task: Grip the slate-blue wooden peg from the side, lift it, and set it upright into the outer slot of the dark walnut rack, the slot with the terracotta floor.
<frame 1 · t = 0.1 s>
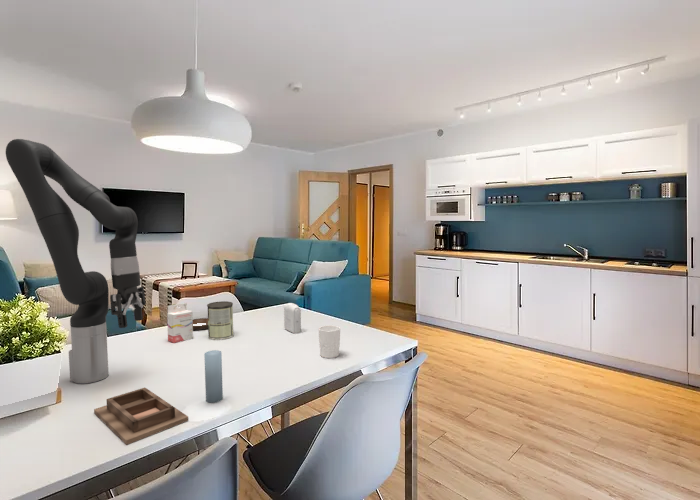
hand: (131, 323, 122), 17 cm above the table, tool pointing down, fingers open, 8 cm apart
white cup: (329, 355, 144), on the table
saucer: (200, 327, 183), on the table
slate peg: (214, 399, 108), on the table
coffee can: (221, 336, 168), on the table
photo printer: (292, 331, 176), on the table
ink cartridge box: (180, 340, 163), on the table
slot rack: (140, 416, 99), on the table
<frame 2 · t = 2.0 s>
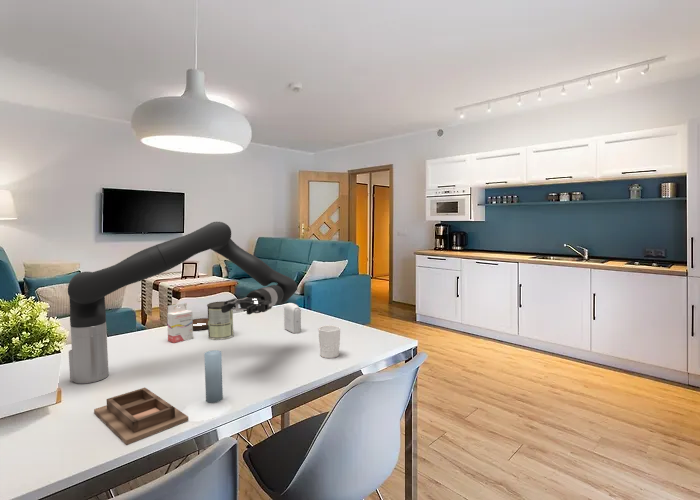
hand: (235, 310, 117), 22 cm above the table, tool horizontal, fingers open, 8 cm apart
nothing on the table moved.
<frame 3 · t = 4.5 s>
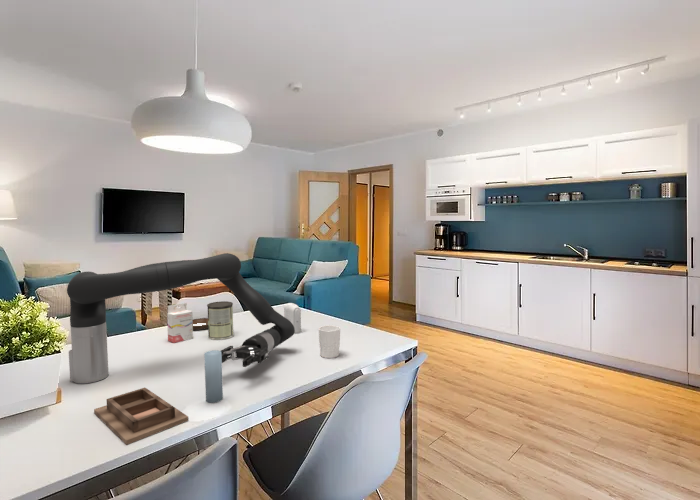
hand: (230, 362, 116), 7 cm above the table, tool horizontal, fingers open, 8 cm apart
nothing on the table moved.
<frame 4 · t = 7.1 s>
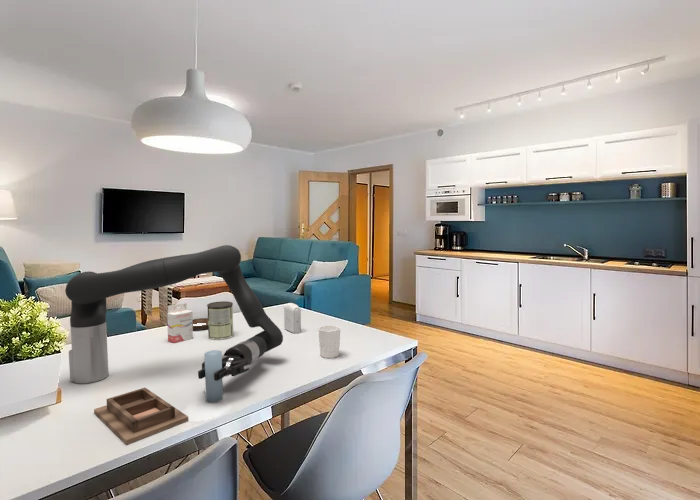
hand: (207, 376, 105), 8 cm above the table, tool horizontal, fingers closed on slate peg, 4 cm apart
slate peg: (214, 399, 108), on the table, touching gripper
everything else where it was.
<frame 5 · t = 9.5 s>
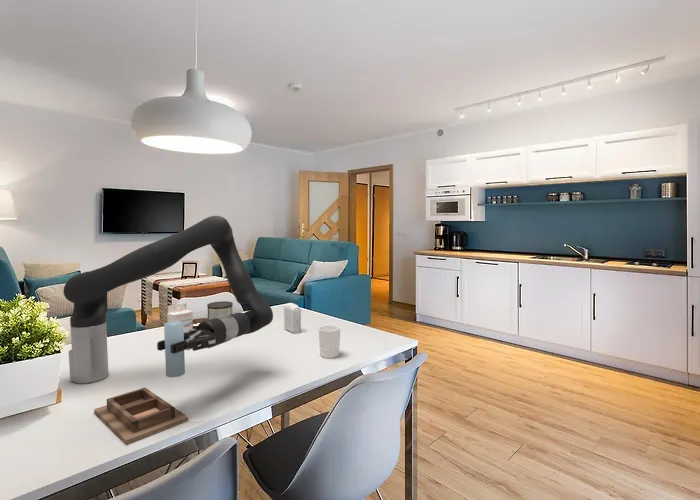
hand: (165, 348, 97), 18 cm above the table, tool horizontal, fingers closed on slate peg, 4 cm apart
slate peg: (175, 373, 100), point 10 cm above the table, touching gripper
everything else where it was.
when the fingers open (11 cm above the table, at t = 12.2 s): slate peg drops 2 cm, resting on slot rack.
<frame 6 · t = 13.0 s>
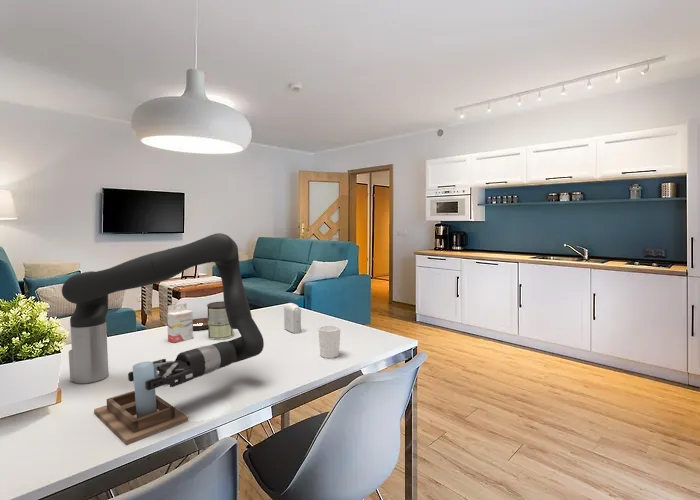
hand: (137, 381, 94), 11 cm above the table, tool horizontal, fingers open, 8 cm apart
slate peg: (147, 416, 96), point 1 cm above the table, touching slot rack
everything else where it was.
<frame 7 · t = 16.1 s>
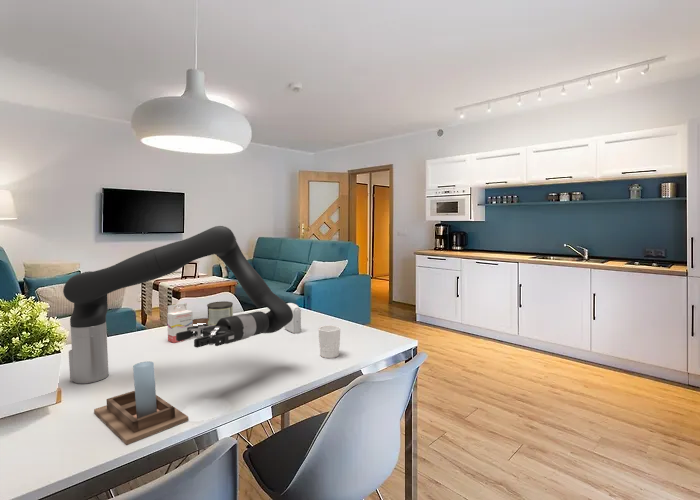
hand: (185, 340, 103), 18 cm above the table, tool horizontal, fingers open, 8 cm apart
nothing on the table moved.
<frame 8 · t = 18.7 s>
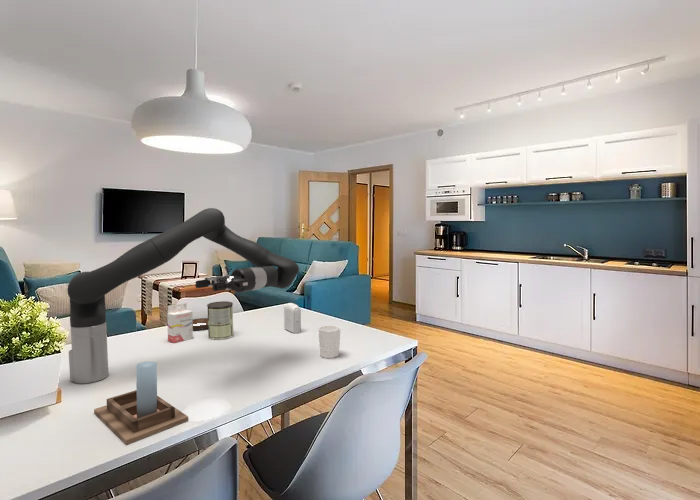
hand: (204, 286, 115), 30 cm above the table, tool horizontal, fingers open, 8 cm apart
nothing on the table moved.
at the end: slate peg 0.1 cm from the target spot on the slot rack, point 1.4 cm above the slot rack's base; slate peg tilted 2°; the gripper is holding nothing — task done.
